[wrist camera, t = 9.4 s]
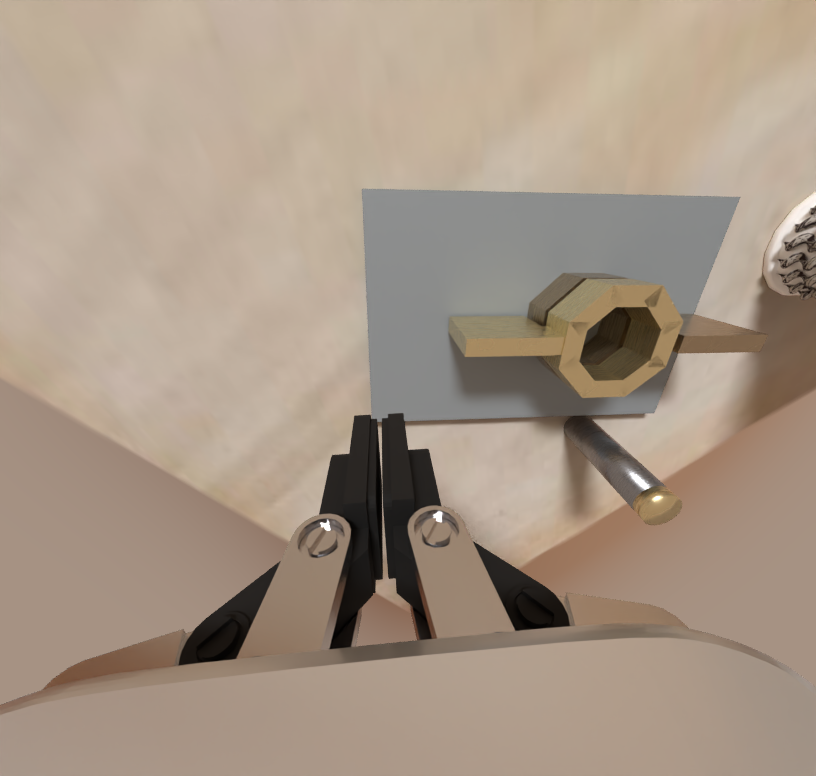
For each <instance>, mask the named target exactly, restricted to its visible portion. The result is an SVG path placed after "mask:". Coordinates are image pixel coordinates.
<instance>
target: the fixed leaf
mask: <svg viewBox="0 0 816 776" xmlns="http://www.w3.org/2000/svg"><path fill="white" fill-rule="evenodd" d="M586 279H627V278H625V277H620V276H615V275H610V274H605V273H562V274H561V275H560V276H559V277H558V278H557V279H555V280H554V281H553V282H552V283H551V284H550V285H549V286H548V287H546V288H545V289H544V290H543V291H542V292H541V293H540V294H539V295H537V296H536V297H535V298H534V299H533V300H532V301H531V302H529V308H528V314H527V318H529V319H530V320H532V321H534V322H535V323H537V324H538V325H540V326H546V322H547V317H548V312H549V311H550V310H551V309H553V308H554V307H555V306H556V305H557V304H558V303H560V302H561V301H562V300H563V299H564V298H565V297H566V296H568V295H569V294H570V293H571V292H572V291H573V290H575V289H576V288H577V287H578V286H579V285H580V284H582V283H583V282H584V281H585V280H586ZM680 316H681V318H682V320H683V324H682V326H681V329H680V332H679V334H678V337H677V339H676V342H675V344H674V347H673V350H672V351H673V352H676V353H725V352H760V350H761V348H762V347H763V345H764V343H765V341H766V339H767V337H768V335H767V334H763V333H760V332H756V331H753V330H749V329H745V328H742V327H738V326H734V325H731V324H727V323H724V322H720V321H716V320H713V319H709V318H705V317H702V316H698V315H695V314H680ZM630 322H631V317H630V316H629V314H628V313H627V311H626V310H625V308H624V307H616V308H614V309H613V310H612V311H611V312H609V313H608V314H607V315H606V316H605V317H603V318H602V319H601V321H600V325H599V328H598V332H597V334H596V335H595V336H594V337H592V338H591V339H590V340H589V341H587V342H586V343H585V344H584V345H583V349H582V353H581V357H580V360H579V361H580V363H581V364H582V365H599V364H600V363H602V362H603V361H604V360H606V359H607V358H608V357H610V356H611V355H612V354H613V353H615V352H616V351H617V350H619V349H620V348H621V347H622V346H623V344H624V341H625V337H626V334H627V331H628V328H629V325H630ZM536 357H537V358H538V360H539V361H540V362H541V363H542V364H543V365H544V366H545V367H546V368H547V369H548V370H549V371H551V372H552V373H553V374H554V375H555V376H557V377H558V378H559V376H558V375H557V374H556V373H555V372H554V371H553V369H552V368H551V367H550V366H549V365H548V363H547V362H546V361H545V360H544V359H543V357H542V356H536ZM559 379H560V378H559Z"/></svg>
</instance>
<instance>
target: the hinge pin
mask: <svg viewBox="0 0 816 776" xmlns="http://www.w3.org/2000/svg"><path fill="white" fill-rule="evenodd" d="M564 432H565V434H566V435H567V436H568V438H569V439H570V440H571V441H572V442H573V443H574V444H575V445H576V446H577V448H578V449H579V450H580V451H581V452H582V453H583V454H584V455H585V456H586V458H587V459H588V460H589V461H590V462H591V463H592V464H593V465H594V466H595V468H596V469H597V470H598V471H599V472H600V473H601V474H602V475H603V476H604V478H605V479H606V480H607V481H608V482H609V483H610V484H611V485H612V486H613V488H614V489H615V490H616V491H617V492H618V493H619V494H620V495H621V496H622V498H623V499H624V500H625V501H626V502H627V503H628V504H629V505H630V506H631V508H632V509H633V510H634V511H635V512H636V513H637V514H638V515H639V516H640V518H641V519H642V520H643V521H644V522H645V523H647V524H649V525H660V524H663V523H666V522H668V521H670V520H671V519H673V518H674V517H675V516H677V514H678V513H679V512H680V510H681V508H682V501H681V500H680V499H679V498H678V497H677V496H676V495H675V494H674V493H672V492H671V491H670V490H669V489H668V488H667V487H666V486H665V485H664V484H663V483H662V482H660V481H659V480H658V479H657V478H656V477H655V476H654V475H653V474H652V473H650V472H649V471H648V470H647V469H646V468H645V467H644V466H643V465H642V464H641V463H639V462H638V461H637V460H636V459H635V458H634V457H633V456H632V455H631V454H629V453H628V452H627V451H626V450H625V449H624V448H623V447H622V446H621V445H620V444H618V443H617V442H616V441H615V440H614V439H613V438H612V437H611V436H610V435H608V434H607V433H606V432H605V431H604V430H603V429H602V428H601V427H600V426H599V425H597V424H596V423H595V422H594V421H593V420H592V419H591V418H590V417H589V416H587V415H582V416H573V417H571V418H570V419H569V420H568V421H567V422H566V423H565V426H564Z"/></svg>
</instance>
